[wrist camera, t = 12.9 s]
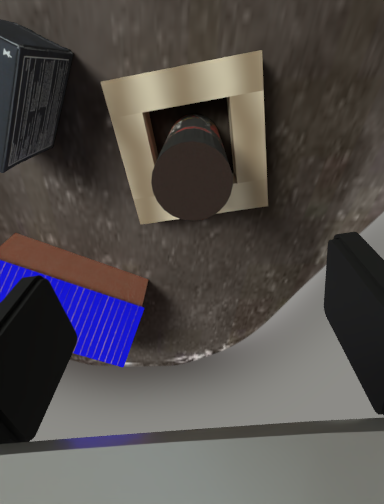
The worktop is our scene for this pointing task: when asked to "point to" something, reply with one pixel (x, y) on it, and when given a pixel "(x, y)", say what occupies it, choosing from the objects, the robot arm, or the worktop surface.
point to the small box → (29, 92)
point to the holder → (187, 92)
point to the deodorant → (192, 170)
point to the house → (81, 294)
